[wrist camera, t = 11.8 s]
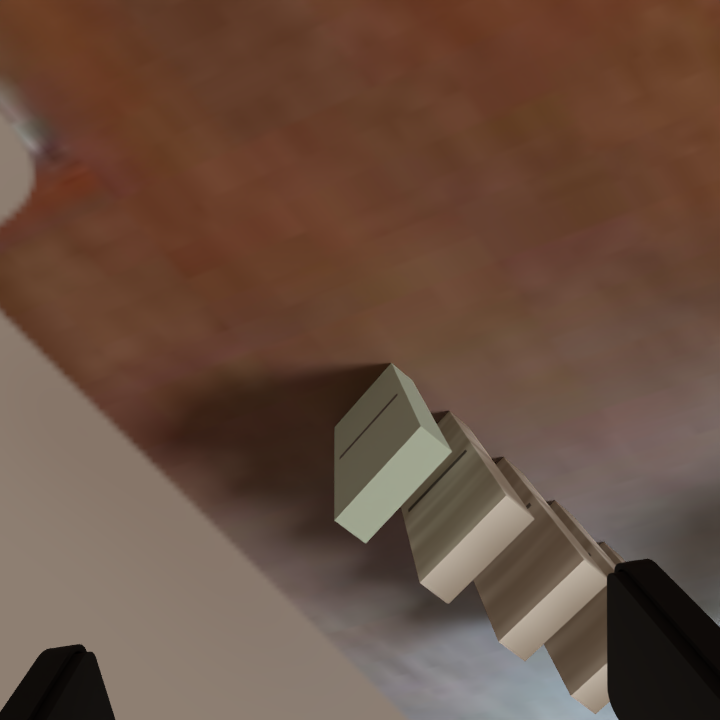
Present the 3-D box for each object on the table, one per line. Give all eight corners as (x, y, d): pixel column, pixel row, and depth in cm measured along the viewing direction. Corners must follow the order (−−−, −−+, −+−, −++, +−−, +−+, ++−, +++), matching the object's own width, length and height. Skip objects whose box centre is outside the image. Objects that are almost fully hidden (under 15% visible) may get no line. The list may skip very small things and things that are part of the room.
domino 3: (446, 514, 31) (498, 641, 21) (503, 456, 30) (583, 559, 20) (465, 530, 31) (525, 661, 21) (522, 472, 30) (610, 581, 21)
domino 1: (334, 427, 29) (334, 520, 19) (391, 362, 28) (420, 425, 19) (355, 443, 29) (366, 543, 20) (412, 380, 29) (452, 451, 19)
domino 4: (498, 556, 32) (570, 695, 22) (554, 500, 31) (655, 618, 21) (516, 570, 32) (595, 714, 22) (572, 515, 31) (680, 639, 22)
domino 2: (391, 471, 30) (419, 582, 20) (448, 410, 29) (505, 495, 20) (412, 487, 30) (448, 604, 21) (469, 427, 30) (535, 519, 20)
